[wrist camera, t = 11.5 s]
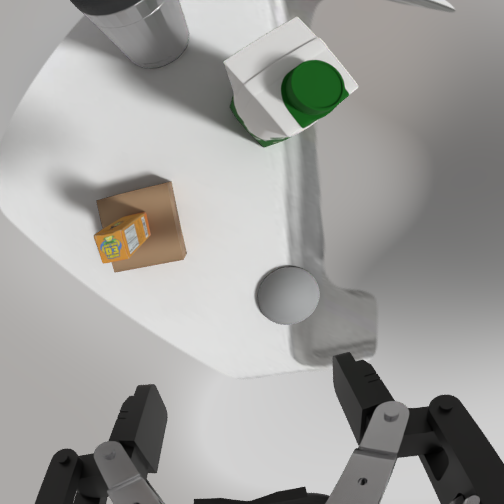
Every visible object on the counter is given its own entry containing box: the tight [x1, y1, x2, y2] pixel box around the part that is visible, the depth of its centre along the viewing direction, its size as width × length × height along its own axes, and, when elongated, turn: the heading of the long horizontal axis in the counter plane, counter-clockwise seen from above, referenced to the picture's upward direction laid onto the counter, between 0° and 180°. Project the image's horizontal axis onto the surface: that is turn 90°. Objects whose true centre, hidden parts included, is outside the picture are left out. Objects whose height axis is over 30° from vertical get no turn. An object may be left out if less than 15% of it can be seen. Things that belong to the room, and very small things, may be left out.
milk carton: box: [223, 17, 358, 147], centre depth 28 cm, size 9×9×20 cm
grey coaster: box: [258, 267, 320, 325], centre depth 44 cm, size 9×9×1 cm
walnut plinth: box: [97, 182, 187, 272], centre depth 39 cm, size 10×10×3 cm
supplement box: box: [94, 212, 151, 263], centre depth 32 cm, size 3×3×10 cm
